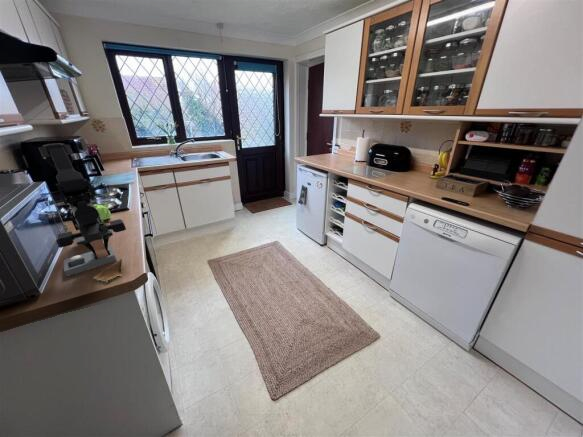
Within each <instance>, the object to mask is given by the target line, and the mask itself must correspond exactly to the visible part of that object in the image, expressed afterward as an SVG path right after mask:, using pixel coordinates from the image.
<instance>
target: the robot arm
mask: <svg viewBox="0 0 583 437" xmlns="http://www.w3.org/2000/svg"><path fill="white" fill-rule="evenodd" d="M38 150H39V152H40V154H41V156H42V158H43V159H44V160H46V162H47V163H48V164H49V165H50V166H52V167H53V168H54V169H55V170H56V171H57V174H56V176H55V178H56V181H57V183H55V186H56V188H57V190H58V192H59V194H60V197H61V199H62V201H63V204H64V205H69V207H70V214H71V216H70V220H71V222H72V225H73V227H74V229H75V230H76V231H79V232H76V233H73V232H72V231H66V232H62V233H57V235H56V239H55V241H56V244H57V246H58V247H59V248H60V249H61V248H65V247H68V246H69V247H70V246H72V245H73V244H74V241H75V242H76V245H78V246H80V245H82V246H84V247H86V248H87V249H88V250H89V251H90V252H91V251H92V252H93V253H94V254H95V255H96V253H95V250H94V248H93V246H92V243H91V242H92V241H95V240H100V239H102V241H103V242H104V246H105V249H106V251H108V246H109V240H110V237H112V236H113V235H114V234H113V232H114V233H120V232H124V231H126V230H127V228H126V225H125V223H124V221H123V219H121V218H118V219H114V220H111V221H109V224H106V222H103V223H101V222H102V221H101V219H100V215H99V213H98V211H97V209H96V208H95V206H94V205H95V204H93V202H92V199H95V198H96V196H95V195H96V192H95V190H94V187H93V186H92V183H91V182H90V181H89V180H88V179H87V178H84V177H83V174H82V172H80V171H79V172H78V171H77V170H75V168H74V166H73V165H72V164H73V161H74V160H73V158H72V157H73V156H74V152H73V150H72V147H71V145H70V144H65V143H61V142H58V143H47V144H43V145H42V146H40V147H38Z"/></svg>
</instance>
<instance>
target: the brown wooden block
mask: <svg viewBox="0 0 583 437" xmlns="http://www.w3.org/2000/svg"><path fill="white" fill-rule="evenodd" d="M91 244H92V246H93V248H94V250H95V253H96V255H97V257H98V259H100V258H103V257H106V256H108V253H107V251H106V249H105V246H104V243H103V238H102V239H100V240H95V241H92V242H91Z"/></svg>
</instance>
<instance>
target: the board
mask: <svg viewBox="0 0 583 437" xmlns="http://www.w3.org/2000/svg"><path fill="white" fill-rule="evenodd" d="M103 243H104V242H103ZM107 253H108V256H106V257H103V258H100V259H98V257H97V255H95V254H94V253H93V252H92V251H91V250H90V251H88V252H85V253H81V254H78V255H74V256H72V257H68V258H65V259H63V263H64V264H63V271H64V273H65V276H66V277H67V276H69V277H71V276H70V275H72V276H74V275H73V274H75V275H77V274H76V273H78V274H80V273H79V272H81V273H83V272H82V271H84V272H86V271H85V270H87V271H89V270H88V269H90V270H92V269H91V268H93V269H95V268H94V267H96V268H98V267H97V266H99V267H101V266H100V265H102V266H104V265H103V264H105V265H107V264H106V263H108V264H110V262H111V263H114V262H116V261H117V258H116V255H115V253H114V250H113V247H112V245H108V251H107Z"/></svg>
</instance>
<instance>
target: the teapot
mask: <svg viewBox="0 0 583 437" xmlns="http://www.w3.org/2000/svg"><path fill="white" fill-rule="evenodd" d="M93 205H94V206H95V208H96V209H97V211H98V213H99V215H100V219H101V221H102V222H101V223H105V220H110V219H111V217H112V213H111V211H110V210H109V208H108V207H109V205H110V204H109V203H107V202H106V203H104V205H103V204H93Z"/></svg>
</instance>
